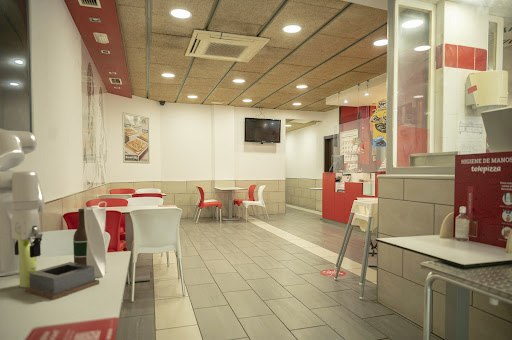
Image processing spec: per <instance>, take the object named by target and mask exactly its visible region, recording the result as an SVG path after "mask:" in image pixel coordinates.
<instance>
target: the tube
mask: <svg viewBox="0 0 512 340" xmlns="http://www.w3.org/2000/svg"><path fill="white" fill-rule="evenodd" d="M19 233H20V232H18V247H19V270H20V273H19V287H21V288H28V287H30V280H29V273H31V272H35V271H38V270H37V257H32V258H31V257H30V246H31V244H30V242H29V240H28V239H27V240H20V234H19ZM33 241H34V240H33Z"/></svg>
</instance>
